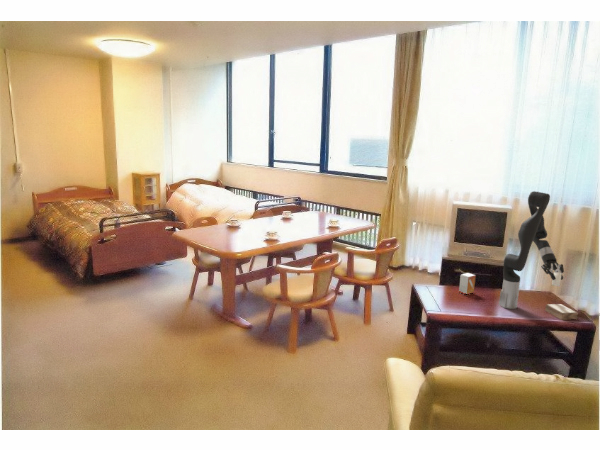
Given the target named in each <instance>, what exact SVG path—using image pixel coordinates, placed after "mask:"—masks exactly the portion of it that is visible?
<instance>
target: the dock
mask: <svg viewBox="0 0 600 450" xmlns="http://www.w3.org/2000/svg"><path fill="white" fill-rule="evenodd" d="M544 310H545V312H546V313H549V314H550V315H552V316H554V317H555V318H557V319H559V320H560V321H565V320H566V321H569V320H571V319H576V320H578V316H579V313H578V312H577V311H576V310H573V309H571V308H569V307H567V306H565V305H564V304H561V303H556V304H555V303H552V304H551V303H550V304H549V303H548V304H545V309H544Z"/></svg>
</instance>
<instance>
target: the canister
mask: <svg viewBox="0 0 600 450" xmlns="http://www.w3.org/2000/svg"><path fill="white" fill-rule="evenodd" d="M553 273H554V276H555V278H556V279H555V280H552V281H551V286H554V287H560V286H561V282H562V280H561V275H562V276H563V273H560V272H559V271H558V272H555V271H553Z"/></svg>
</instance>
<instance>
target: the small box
mask: <svg viewBox="0 0 600 450" xmlns="http://www.w3.org/2000/svg"><path fill="white" fill-rule="evenodd" d="M476 276H477V275H476V274H472V273H470V272H466V273H465V272H464V273H462V274H460V276H459V277H460V278H459V289H458V292H459V291H461V292H463V293H466V294H468V293H472V292H475V286H476V285H475V284H476Z"/></svg>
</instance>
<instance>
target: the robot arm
mask: <svg viewBox="0 0 600 450" xmlns="http://www.w3.org/2000/svg"><path fill="white" fill-rule="evenodd" d="M550 200H551V195H550V194H549V193H546V192H540V191H536V190H535V191H531V192H530V194H528V197H527V204H528V209H529V212H530V215H531V216H529V217H528V218H527V219H526V220H524V221H523V222H522V223H521V225H520V228H519V230H518V234H517V237H518V241H519V244H520V251H519V255H518V254H512V253H508V254H506V255H505V257H504V260H503V269H502V270H503V273H502V274H503V275H502V276H503V280H502V281H503V282H502V286H501V287H502V289H501V290H500V294H499V301H498V305H499V306H501V307H502V308H503V309H509V310H516V309H517V307H518V300H519V293H520V283H521V276H520V275H519V274H517V273H516V272H521V271H523V270H524V268H525V266H526V264H527V260H528V257H529V253H530V251H531V250H530V249H531V247H532V244H533V243H534V244H535V246H536V247H537V250H538V252H539V256H540V258H541V260H542V262H543V264H542V265H541V268H542V270H543V271H544V273H545V274H546V275H549V276H550V278H551V279H552V280H555V279H556V278H555V276H554V272H560V273H562V275H561V281H562V280H563V279H564V275H563V274H564V272H565V271H564V270H565V268H564V264H562V263H561V264H560V263H558V262H557V261H558V259H557V258H556V256H555V253H554V251H553V249H552V248H551V246H550V243H549V241H548V240H545V239H546V238H547V237H548V231H547V230H546V228H545V218H544V214H545V211H546V209H547V207H548V206H549V203H550ZM515 271H516V272H515Z"/></svg>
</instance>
